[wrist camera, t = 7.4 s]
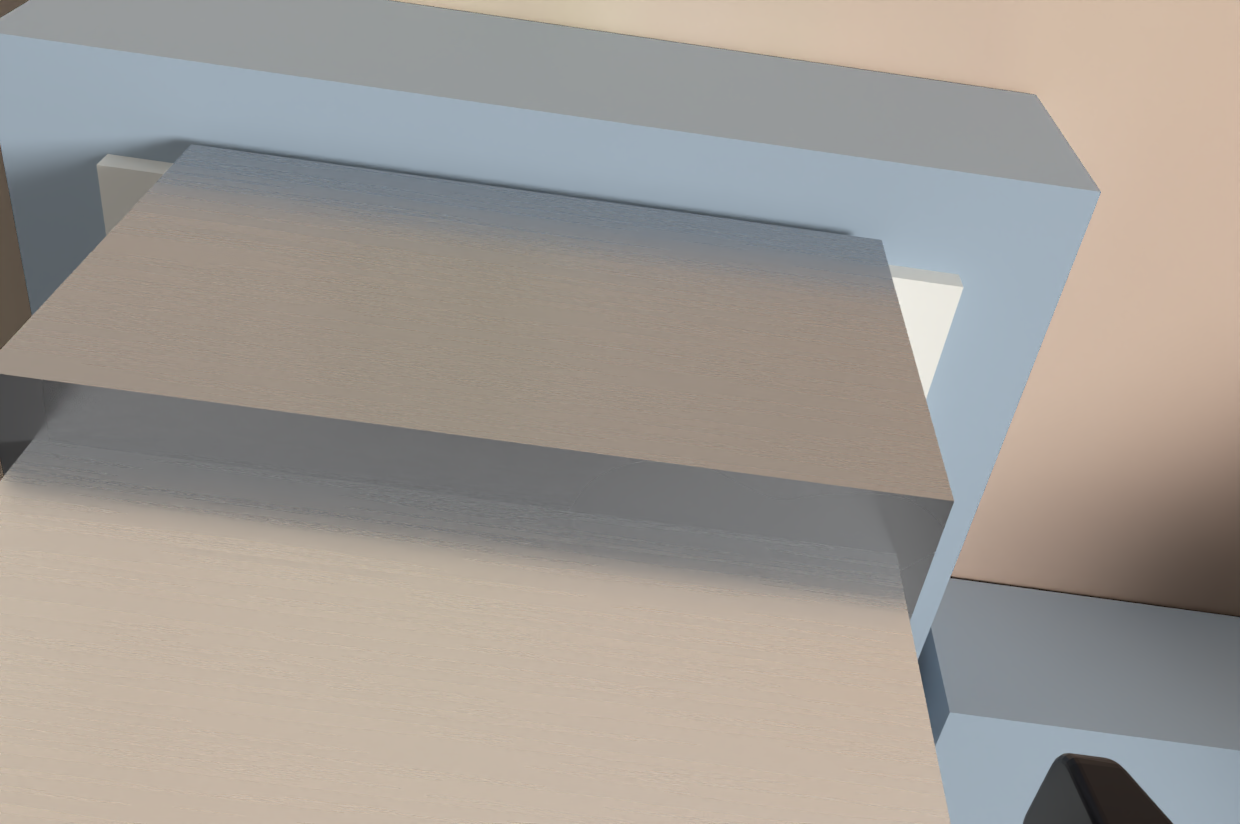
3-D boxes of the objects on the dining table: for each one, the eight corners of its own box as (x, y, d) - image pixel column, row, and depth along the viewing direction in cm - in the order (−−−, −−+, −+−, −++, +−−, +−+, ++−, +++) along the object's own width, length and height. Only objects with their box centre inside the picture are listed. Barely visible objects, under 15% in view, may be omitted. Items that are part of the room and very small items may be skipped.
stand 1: (825, 716, 15) (842, 873, 13) (181, 631, 14) (107, 779, 13) (1036, 95, 10) (1108, 204, 8) (99, -43, 10) (-34, 39, 8)
